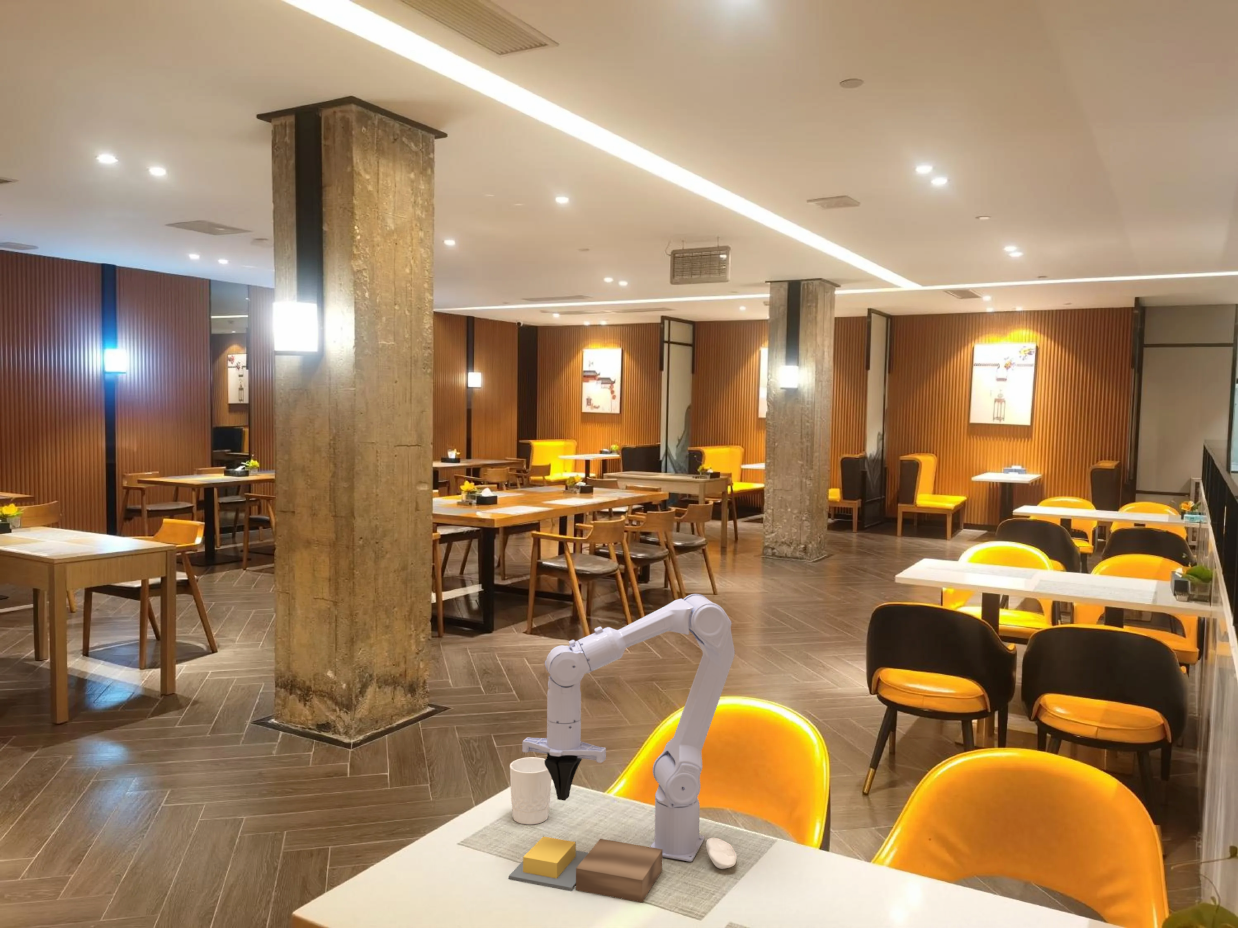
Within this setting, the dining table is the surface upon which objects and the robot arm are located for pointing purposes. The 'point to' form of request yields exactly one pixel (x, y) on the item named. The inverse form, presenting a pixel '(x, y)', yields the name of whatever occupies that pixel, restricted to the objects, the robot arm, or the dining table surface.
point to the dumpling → (721, 853)
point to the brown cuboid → (619, 870)
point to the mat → (562, 882)
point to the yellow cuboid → (549, 857)
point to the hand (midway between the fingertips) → (563, 797)
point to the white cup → (530, 790)
